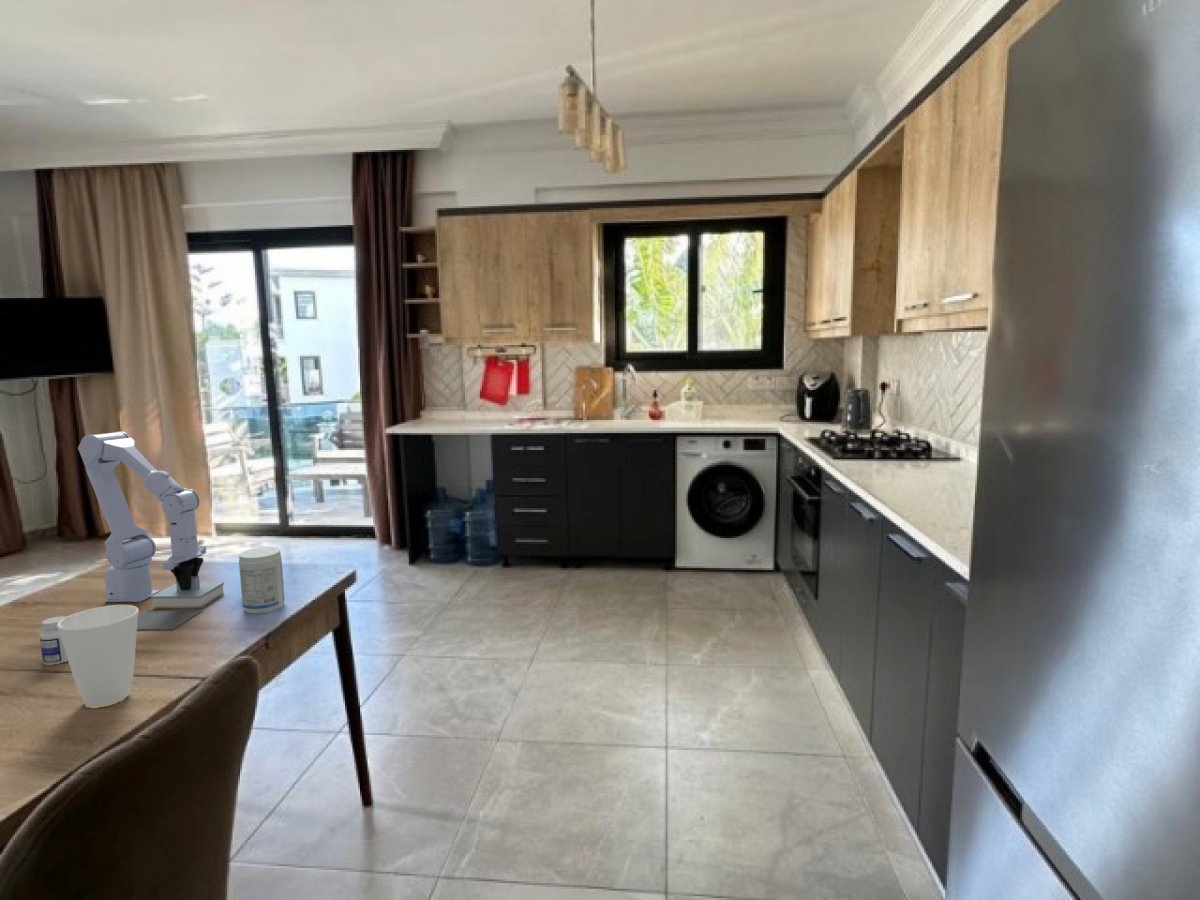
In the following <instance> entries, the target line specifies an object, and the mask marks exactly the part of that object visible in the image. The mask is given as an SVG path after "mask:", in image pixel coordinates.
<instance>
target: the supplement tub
mask: <svg viewBox="0 0 1200 900" xmlns="http://www.w3.org/2000/svg"><path fill="white" fill-rule="evenodd" d="M238 565H239V566H238V567H239V569H238V570H239V579H240V590H241V591H240V592H241V602H242V610H243V611H244V612H245V613H248V614H253V615H254V614H255V615H257V614H258V615H259V614H267V613H271V612H274V611H277V610H278V608H279V609H281V608H282V607H283V606H284V604H285V602H286V601H285V600H286V599H285V588H284V587H285V586H284V574H283V572H284V571H283V561H282V554H281V549H280V548H278V547H273V546H263V547H262V546H261V547H255V548H250V549H247V550H243V551H241V552H240V553H239V554H238ZM266 612H267V613H266Z"/></svg>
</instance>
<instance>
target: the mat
mask: <svg viewBox="0 0 1200 900" xmlns="http://www.w3.org/2000/svg"><path fill="white" fill-rule="evenodd" d="M200 612H201V613H203V612H204V610H203V609H201V610H200V609H193V610H192V609H178V610H177V609H171V610H170V609H168V610H167V609H165V610H164V609H162V610H161V609H160V610H159V609H158V610H155V609H154V610H153V609H149V610H146V611H145V612H143V613H140V614H138V620H137V631H174V630H175V629H177V628H179V627H180V626H182V625H184V624H185V623H187V622H188V621H190V620H191V619H193V618H194V616H195V617H196V616H198V615H199V614H201V613H200ZM197 614H198V615H197ZM178 626H179V627H178ZM173 629H174V630H173Z"/></svg>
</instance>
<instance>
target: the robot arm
mask: <svg viewBox="0 0 1200 900" xmlns="http://www.w3.org/2000/svg"><path fill="white" fill-rule="evenodd" d="M77 450H78V452H79V454H80V457H81V460H82V463H83V464H84V467H85V472H86V473H87V476H88V479H89V481H90V484H91V486H92V489H93V491H94V494H95V496H96V499H97V501H98V503H99V506H100V509H101V511H102V513H103V516H104V519H105V521H106V524H107V525H108V526H107V527H108V528H109V531H110V535H109V536H108V537H107V539H106V540H105V541H104V547H105V551H106V559H107V562H108V563H109V564H110V566H109V567H108V568H107V570H106V572H105V576H104V581H105V591H106V599H104V601H105V602H106V603H109V602H110V603H112V602H113V603H114V602H115V603H116V602H117V603H118V602H119V603H124V602H125V603H127V602H128V603H131V602H133V603H136V602H137V603H138V602H140V603H141V602H143V601H145V600H147V599H149V598H151V596H153V595H155V594H157V593H158V592H160V591H161V589H153V584H152V582H153V581H152V574H151V573H152V572H151V564H150V562H152V561H153V560H152V559H153V557H154V556H155V554H156V552H157V551H156V550H157V546H156V543H155V541H154V540H153V538H152V537H150V535H149V533H148V531H147V529H144V528H143V527H140V526H138V525H136V523H135V522H136V521H135V520H134V518H133V516H132V512H131V511H130V507H129V505H128V503H127V501H126V498H125V494H124V493H123V490H122V488H121V485H120V482H119V480H118V478H117V476H116V473H115V468H116V467H117V465H119V464H120V463H121V462H122V464H124V465H126V466H127V467H128V468H129V469H130V470H132V471H133V472H134V473H135V474H137V475H138V476H139V477H140V478H142V479H143V486H144V488H145V489H146V490H148V491H149V492H150V493H151V494H152V495H153V496H154V497H155V498H157V499H158V500H159V501H160V503H161V505H160V506H161V509H162V512H163V513H164V514H165V517H166V521H167V522H168V523H169V537H170V544H171V545H170V546H171V555H170V556H169V557H168V558H167V559H166V560H165V561H163V562H162V565H163V566H162V567H163V571H165V570H166V571H169V570H170V572H171V573H172V574H173V576H174V577H175V580H176V579H177V581H178V584H179V586H180V588H181V590H189V589H190V588H191V576H199V571H200V569H201V566H202V564H203V563H204V557H202V556H203V555H205V554H207V546H205V545H198V534H197V523H196V510H197V509H198V508H199V505H200V502H201V501H200V498H199V496H198V495H199V494H197V492H196V491H195V490H193V489H191V488H186V487H182V485H180V483H178V482H177V481H176V480H175V479H174V478H173V477H171V475H170V473H169V472H168V471H165V470H157V469H156V468H155V467H154V466H153V465H152V464H151V462H149V460H147V458H146V457H144V455H143V454H141V451H140V450H138V449H137V447H136V441H135V440H134V439H133V438H132V437H131V436H130V435H129V434H128V433H127V432H125V431H120V430H119V431H115V432H108V433H107V432H106V433H98V434H87V435H85V436H83V437H82V439H81V440H80V443H79V444H78V447H77Z"/></svg>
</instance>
